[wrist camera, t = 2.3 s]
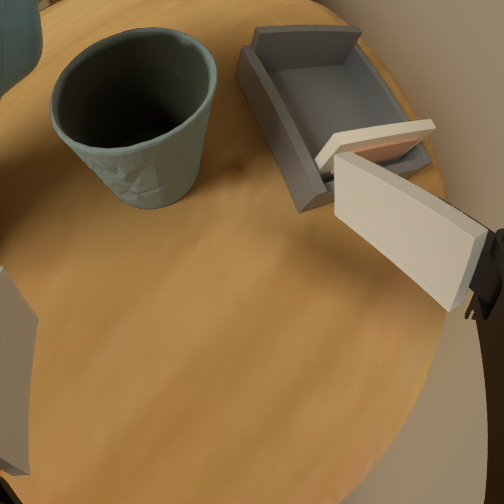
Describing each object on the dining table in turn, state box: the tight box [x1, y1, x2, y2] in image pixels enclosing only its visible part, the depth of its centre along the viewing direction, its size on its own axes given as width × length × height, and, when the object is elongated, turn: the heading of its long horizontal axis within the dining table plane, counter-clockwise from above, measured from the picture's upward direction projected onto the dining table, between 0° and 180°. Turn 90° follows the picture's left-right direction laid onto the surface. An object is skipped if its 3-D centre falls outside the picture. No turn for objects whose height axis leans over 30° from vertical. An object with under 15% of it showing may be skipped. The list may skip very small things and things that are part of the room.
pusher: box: [313, 119, 436, 180], centre depth 25 cm, size 1×11×7 cm, turn 111°
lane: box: [235, 25, 432, 213], centre depth 27 cm, size 16×14×7 cm
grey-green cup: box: [50, 27, 218, 209], centre depth 21 cm, size 10×10×12 cm
